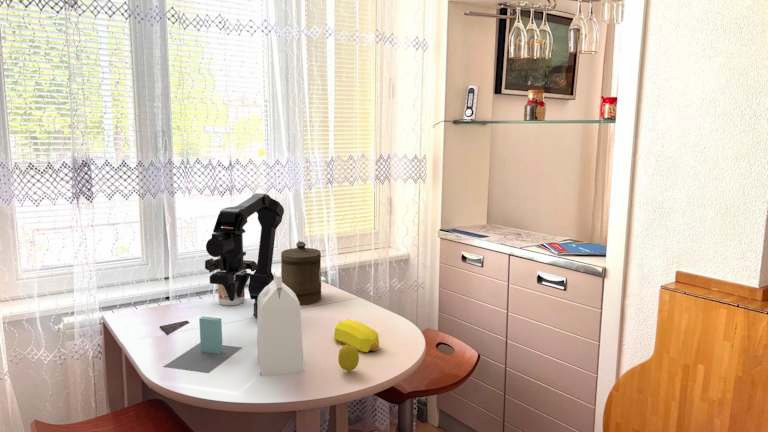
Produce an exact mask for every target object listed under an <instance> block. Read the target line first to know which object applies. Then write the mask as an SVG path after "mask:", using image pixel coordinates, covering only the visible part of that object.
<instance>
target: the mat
mask: <svg viewBox="0 0 768 432" xmlns="http://www.w3.org/2000/svg"><path fill="white" fill-rule="evenodd" d="M222 346H223V352H221V353H220V354H217V353H209V352H202V351H201V342H200V341H199V343H197V344H196V345H194V346H193V347H191V348H190V349H189V350H187V351H185V352H183V353H182V354H181V355H179V356H177V357H176V358H174V359H173V360H171V361H170V362H167V364H165V365H164V366H162V367H163V368H169V369H175V370H176V369H177V370H183V371H190V372H196V373H197V372H198V373H205V374H209V373H211V372H212V371H214V370H215V369H216V368H217V367H219V366H220V365H222V364H223V363H225V361H227V360H228V359H230V357H232V356H234V355H235V354H236V353H238V352H239V351H240V350H242V349H243V347H241V346H234V345H225V344H222Z"/></svg>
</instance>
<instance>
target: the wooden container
mask: <svg viewBox="0 0 768 432" xmlns="http://www.w3.org/2000/svg"><path fill="white" fill-rule="evenodd" d="M295 246H296V247H293V248H289V249H284V250H282V251H281V253H280V254H281V255H280V258H281V259H280V260H281V261H280V263H281V264H280V265H281V266H280V267H281V271H280V274H281V276H282V282H283V283H284V284H285V285H286V286H287V287H289V288H290V289H291V290H292V291H293V292H294V293H295V294H296V296H297V299H298V301H299V304H300V306H304V305H305V306H306V305H311V304H314V303H318V302H319V301H320V300H322V271H321V270H322V269H321V268H322V267H321V262H322V261H321V260H322V259H321V258H322V257H321V255H322V254H321V253H322V252H321V250H320V249H317V248H313V247H312V248H311V247H306V246H307V245H306V243H305V242H304V241H298V242H297V243H296V244H295Z"/></svg>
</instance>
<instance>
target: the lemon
mask: <svg viewBox="0 0 768 432" xmlns="http://www.w3.org/2000/svg"><path fill="white" fill-rule="evenodd" d="M359 356H360V355H359V350H357V349H356V348H355V347H354V346H353V345H350V344H344V345H343V346H341V348H340V350H339V352H338V356H337V357H338V359H337V360H338V365H339V366H340V368H341V369H342V370H344V371H346V372H347V373H350V372H351V371H354V370H355V369H356V368H357V366H358V365H359V361H360V359H359V358H360V357H359Z"/></svg>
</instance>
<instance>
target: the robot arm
mask: <svg viewBox="0 0 768 432" xmlns="http://www.w3.org/2000/svg"><path fill="white" fill-rule="evenodd" d="M255 213H257V221H258V223H259V225H260V227H261V229H260V236H259V237H260V238H259V245H258V255H257V263H256V261H255V260H249V259H248V260H245V259H244V256H246V255H247V252H246V251H244V247H243V246H244V242H243V239H244V238H243V234H245V233H246V230H245V229H244V226H245V225H246V224H247V223H248V218H249V217H251V216H252V215H254V214H255ZM284 213H285V209H284V206H283V205H282V204H281V203H280V202H279V201H278V200H277V199H274V198H272V197H271V196H270V195H269V194H267V193H258V192H257V193H254V194H252V196H251V197H248V198H247V199H246V200H244V201H242V202H241V203H239V204H238V205H236V206H235V205H234V206H228V207H225V208H222V209H221V210H220V211H219V213H218V215H217V218H216V221H215V224H214V228H213V230H212V233H211V238H210V239H208V240H207V242H206V245H205V248H206V252H207V254H208V255H209V256H211V257H212V258H209V259H206V260H205V261H204V269H205V270H206V271H208V272H209V273H211V275H209V284H212V285H218V284H221V285H223V286H224V288H225V290H226V292H227V295H228V297H229V300H230V301H234V298H235V294H236V295H237V297H241V294H242V292H243V290H244V291H245V287H246V285H247V283H248V287H247V289H248V294H249V297H250V300H254V303H253V314H252V315H253V316H254V317H256V318H257V300H258V296H259V294H260V293H261V292H262V290H263V289H264V288H265V287H266V286H267V285H269V284H270V283H271V282H272V281H273V280H274V273H273V272H272V267H273V266H272V265H273V260H274V259H273V257H274V247H275V242H276V241H275V239H276V231H277V228H278V227H279V225H281V223H282V219H283V217H284ZM223 227H226V228H223ZM219 256H220V258H218V257H219ZM214 258H215V259H214ZM218 269H220V271H218V272H217V270H218ZM247 270H250V271H251V272H253V273H251V272H248V271H247ZM214 271H215V272H214ZM221 271H226V272H221ZM248 281H249V282H248Z"/></svg>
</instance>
